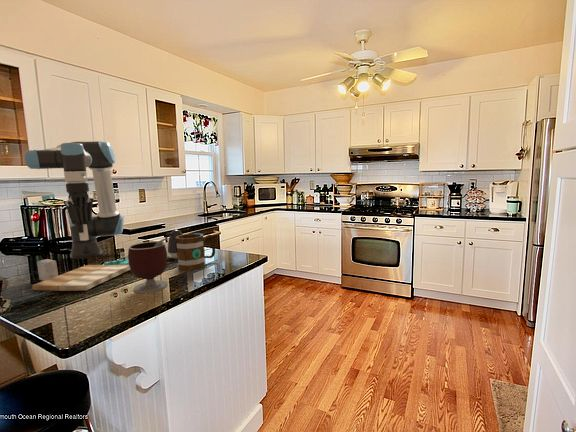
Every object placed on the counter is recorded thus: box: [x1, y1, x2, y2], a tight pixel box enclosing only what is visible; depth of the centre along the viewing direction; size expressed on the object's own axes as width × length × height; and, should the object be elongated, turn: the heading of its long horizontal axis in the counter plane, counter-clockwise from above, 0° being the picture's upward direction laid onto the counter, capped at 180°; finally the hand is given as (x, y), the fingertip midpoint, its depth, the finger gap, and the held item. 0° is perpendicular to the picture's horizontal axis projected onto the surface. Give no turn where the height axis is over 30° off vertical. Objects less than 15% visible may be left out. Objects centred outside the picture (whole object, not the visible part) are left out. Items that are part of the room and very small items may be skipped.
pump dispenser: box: [165, 229, 183, 259], centre depth 167 cm, size 10×10×15 cm
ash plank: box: [59, 264, 131, 292], centre depth 136 cm, size 28×12×2 cm, turn 171°
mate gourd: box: [127, 237, 169, 294], centre depth 122 cm, size 16×14×20 cm
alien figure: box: [103, 257, 129, 265], centre depth 164 cm, size 20×2×20 cm
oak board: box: [31, 264, 109, 292], centre depth 138 cm, size 28×12×2 cm, turn 171°
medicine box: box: [36, 258, 59, 282], centre depth 137 cm, size 8×4×9 cm, turn 59°
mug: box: [176, 233, 216, 272], centre depth 151 cm, size 20×14×15 cm
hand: (84, 239), depth 128 cm, fingers closed
